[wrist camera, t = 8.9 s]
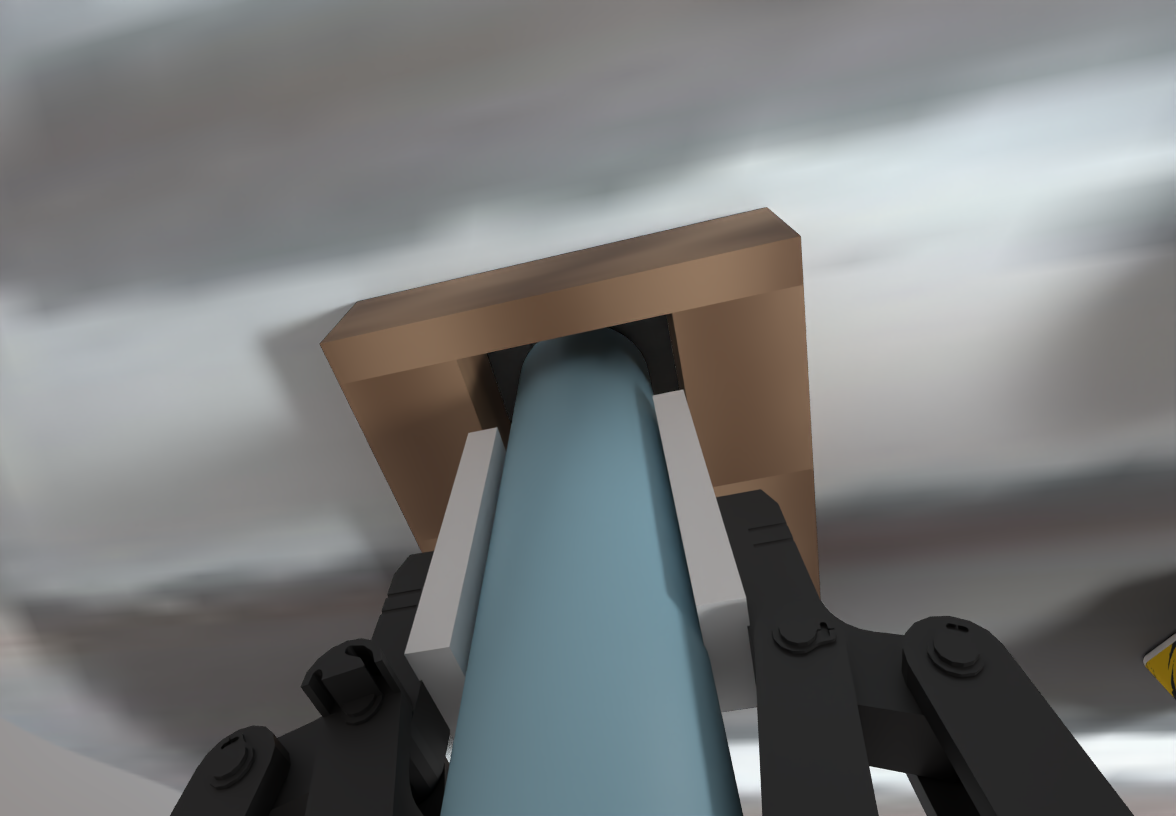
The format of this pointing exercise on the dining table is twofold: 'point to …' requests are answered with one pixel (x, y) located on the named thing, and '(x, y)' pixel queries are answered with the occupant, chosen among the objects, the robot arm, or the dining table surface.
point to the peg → (588, 613)
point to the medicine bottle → (1164, 664)
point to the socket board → (583, 303)
